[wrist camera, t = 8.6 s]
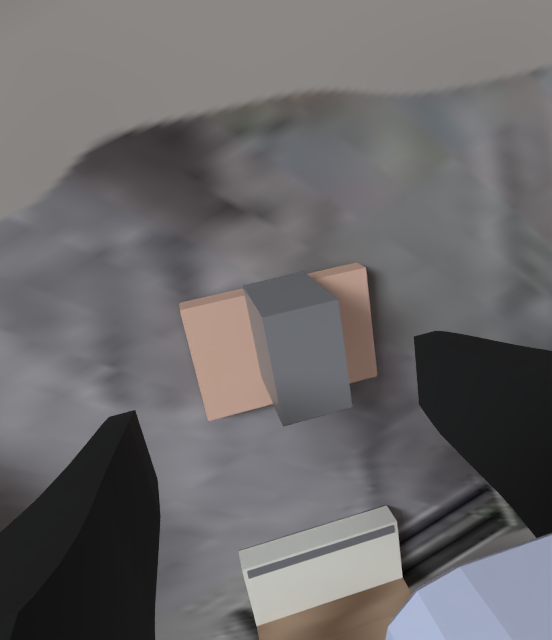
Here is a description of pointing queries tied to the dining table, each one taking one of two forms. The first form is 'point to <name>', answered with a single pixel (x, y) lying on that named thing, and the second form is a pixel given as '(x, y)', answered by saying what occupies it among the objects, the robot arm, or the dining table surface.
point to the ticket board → (328, 580)
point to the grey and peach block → (283, 344)
